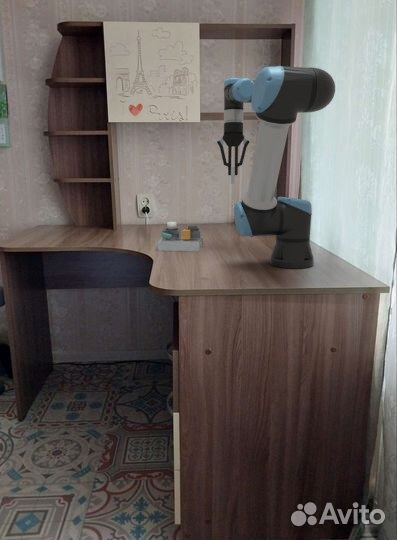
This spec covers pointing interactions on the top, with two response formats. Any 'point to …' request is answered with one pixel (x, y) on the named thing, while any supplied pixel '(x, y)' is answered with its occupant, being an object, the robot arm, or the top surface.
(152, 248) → the top surface
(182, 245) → the panel
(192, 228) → the button
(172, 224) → the button
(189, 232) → the slider knob
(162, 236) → the teal rectangular block
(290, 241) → the robot arm
